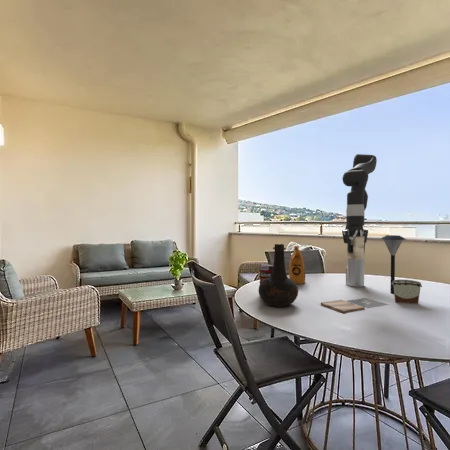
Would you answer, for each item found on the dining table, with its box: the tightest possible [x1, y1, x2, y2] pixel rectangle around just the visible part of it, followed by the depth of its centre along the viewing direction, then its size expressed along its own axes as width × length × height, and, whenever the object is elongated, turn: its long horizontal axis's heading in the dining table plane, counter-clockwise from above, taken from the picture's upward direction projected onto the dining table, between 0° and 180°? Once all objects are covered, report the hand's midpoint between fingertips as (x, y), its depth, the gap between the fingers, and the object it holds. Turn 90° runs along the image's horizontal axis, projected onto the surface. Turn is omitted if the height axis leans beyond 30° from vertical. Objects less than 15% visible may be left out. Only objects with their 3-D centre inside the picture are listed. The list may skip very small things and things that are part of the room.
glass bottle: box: [258, 243, 299, 308], centre depth 149 cm, size 18×18×28 cm
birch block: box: [346, 236, 365, 260], centre depth 145 cm, size 5×5×10 cm
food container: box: [392, 279, 423, 305], centre depth 151 cm, size 12×6×10 cm, turn 71°
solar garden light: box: [380, 234, 407, 294], centre depth 168 cm, size 12×12×30 cm
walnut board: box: [320, 299, 366, 314], centre depth 144 cm, size 14×12×1 cm
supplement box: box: [259, 263, 273, 284], centre depth 164 cm, size 9×5×16 cm, turn 77°
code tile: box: [346, 297, 389, 309], centre depth 150 cm, size 13×13×1 cm
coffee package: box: [288, 245, 306, 285], centre depth 197 cm, size 10×12×22 cm
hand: (355, 252), depth 145 cm, fingers closed on birch block, 5 cm apart
